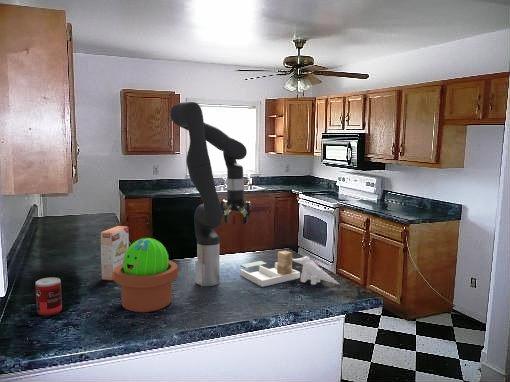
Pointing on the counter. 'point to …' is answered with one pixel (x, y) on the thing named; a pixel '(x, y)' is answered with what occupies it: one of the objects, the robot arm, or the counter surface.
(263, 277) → the tray
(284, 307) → the counter surface
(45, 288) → the canned food
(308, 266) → the dinosaur statue
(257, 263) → the sage mat
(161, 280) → the potted cactus
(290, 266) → the oak block
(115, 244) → the cracker box
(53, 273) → the counter surface
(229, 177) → the robot arm
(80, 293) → the counter surface
